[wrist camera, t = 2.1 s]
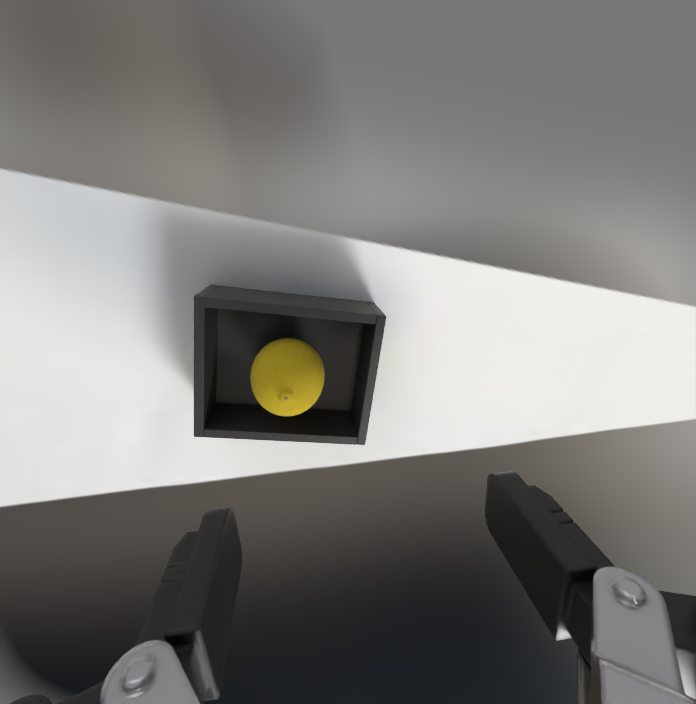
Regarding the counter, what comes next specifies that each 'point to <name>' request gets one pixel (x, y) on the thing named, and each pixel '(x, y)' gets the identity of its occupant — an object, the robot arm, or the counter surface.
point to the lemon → (287, 376)
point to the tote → (269, 325)
